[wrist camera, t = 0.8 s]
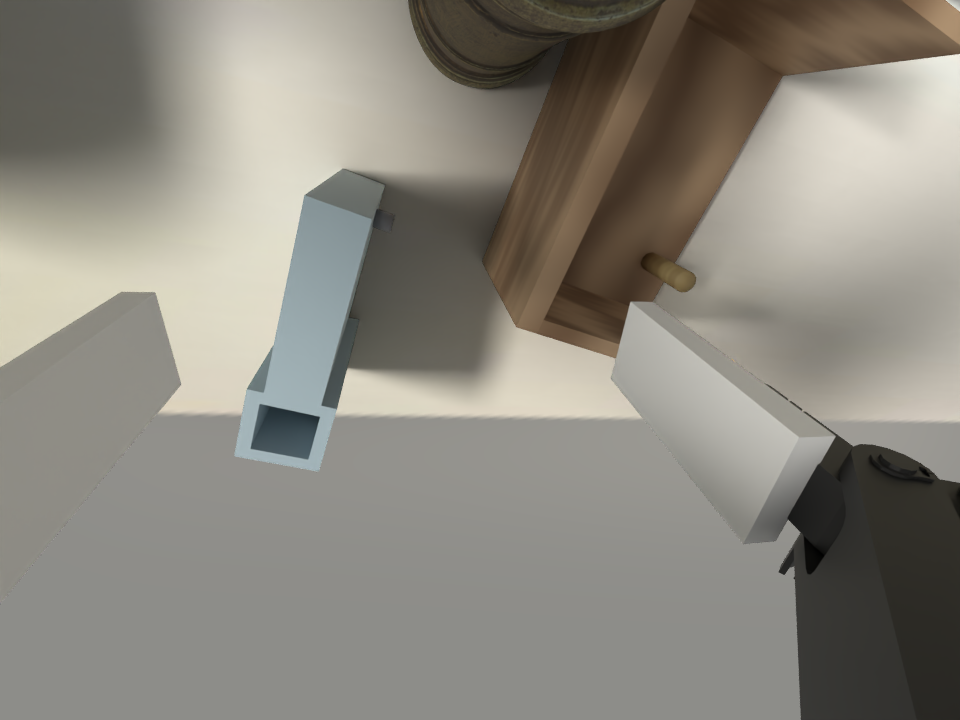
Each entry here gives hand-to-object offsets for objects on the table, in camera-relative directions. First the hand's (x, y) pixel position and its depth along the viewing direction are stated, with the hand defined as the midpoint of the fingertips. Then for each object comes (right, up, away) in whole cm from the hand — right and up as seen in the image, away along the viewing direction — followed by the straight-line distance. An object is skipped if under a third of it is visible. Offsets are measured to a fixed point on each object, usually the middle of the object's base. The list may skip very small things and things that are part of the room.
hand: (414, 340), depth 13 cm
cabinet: (+12, +13, +18) cm, 25 cm away
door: (-8, +5, +19) cm, 21 cm away
